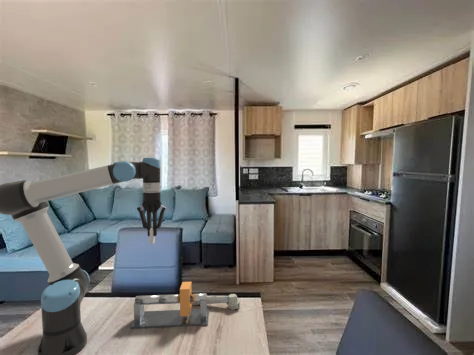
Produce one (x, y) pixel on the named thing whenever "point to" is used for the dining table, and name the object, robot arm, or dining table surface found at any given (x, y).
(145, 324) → the pipe rig
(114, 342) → the dining table surface
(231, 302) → the white blue-tipped device
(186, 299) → the collar
